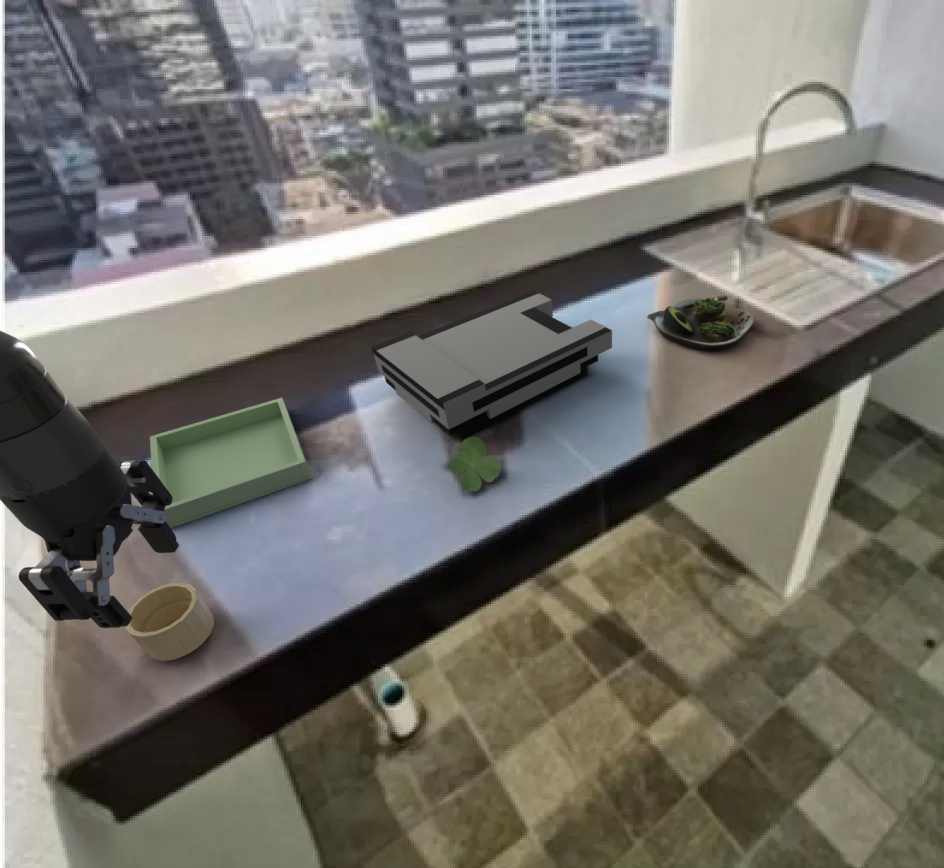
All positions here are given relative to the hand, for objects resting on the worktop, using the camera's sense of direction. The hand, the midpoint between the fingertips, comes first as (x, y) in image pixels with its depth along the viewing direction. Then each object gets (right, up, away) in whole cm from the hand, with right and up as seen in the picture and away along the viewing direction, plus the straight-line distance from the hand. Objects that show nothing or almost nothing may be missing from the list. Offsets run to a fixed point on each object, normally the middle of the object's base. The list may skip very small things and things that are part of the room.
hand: (145, 585), depth 58 cm
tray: (-7, +10, +26) cm, 29 cm away
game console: (+27, +24, +43) cm, 56 cm away
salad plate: (+63, +34, +56) cm, 91 cm away
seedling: (+27, +9, +25) cm, 38 cm away
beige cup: (0, -7, +5) cm, 9 cm away
